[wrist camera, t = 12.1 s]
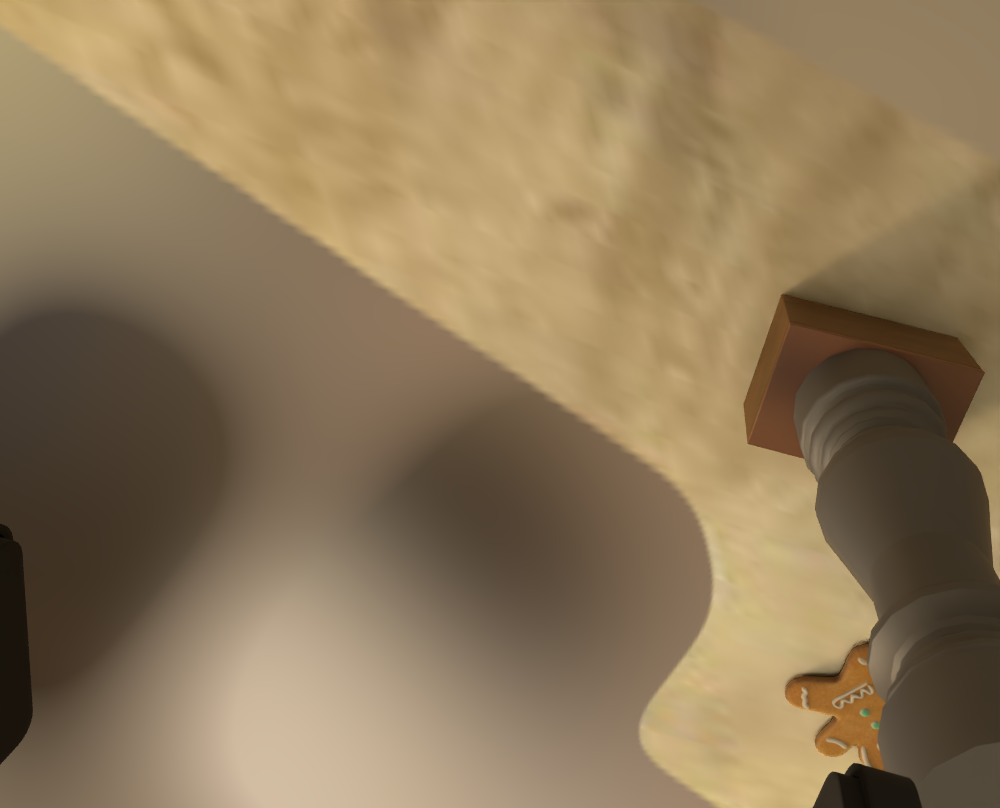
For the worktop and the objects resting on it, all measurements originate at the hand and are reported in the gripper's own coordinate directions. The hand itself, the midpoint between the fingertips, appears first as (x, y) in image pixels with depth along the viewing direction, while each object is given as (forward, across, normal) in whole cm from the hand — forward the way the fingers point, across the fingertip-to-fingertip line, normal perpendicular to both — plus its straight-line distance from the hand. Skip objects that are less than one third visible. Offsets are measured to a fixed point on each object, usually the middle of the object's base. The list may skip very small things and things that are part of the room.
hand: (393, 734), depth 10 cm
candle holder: (+35, -13, +8) cm, 38 cm away
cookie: (+40, -22, +29) cm, 54 cm away
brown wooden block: (+40, -13, +8) cm, 43 cm away
